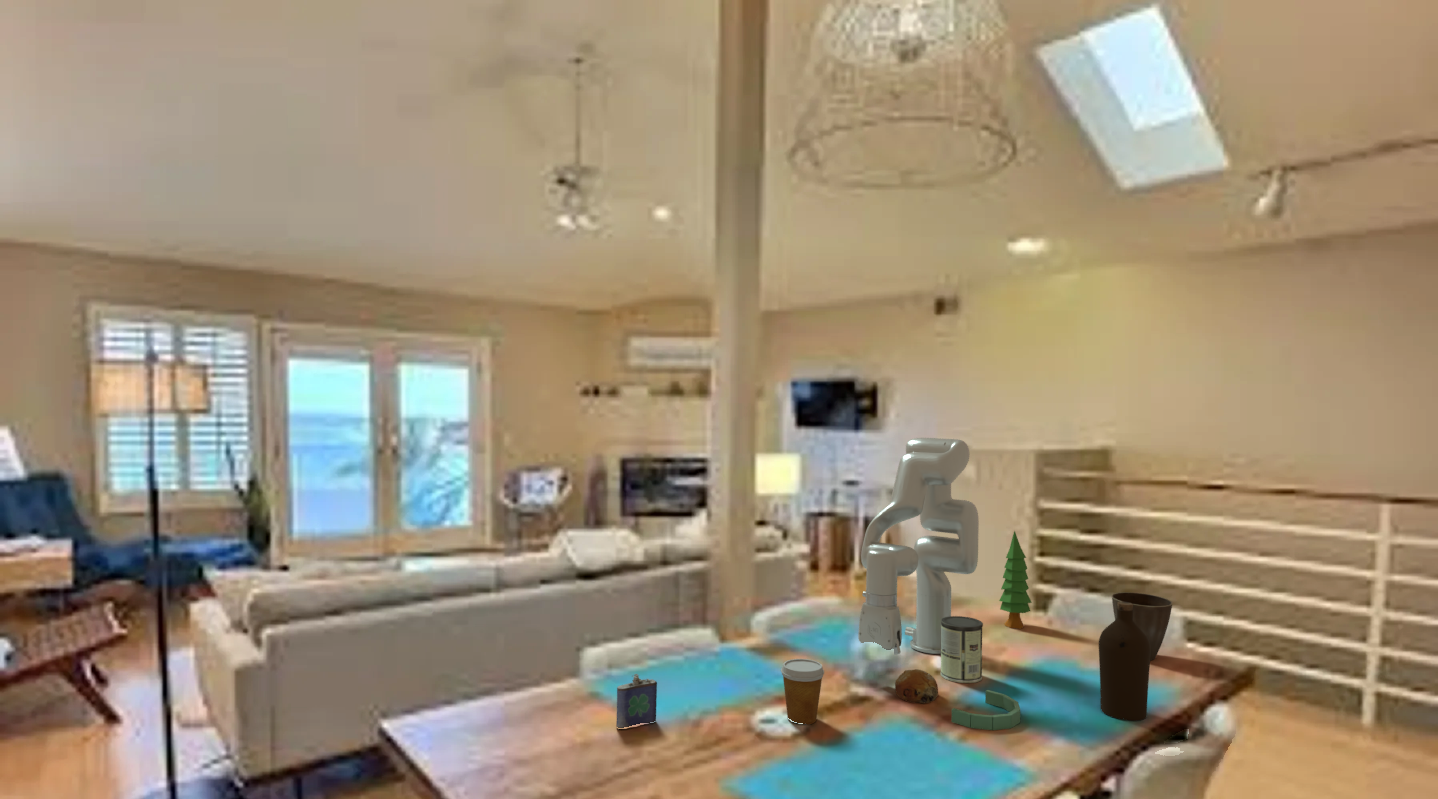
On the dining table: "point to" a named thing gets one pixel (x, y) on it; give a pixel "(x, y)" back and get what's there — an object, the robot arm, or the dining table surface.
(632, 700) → the flask
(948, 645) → the coffee can
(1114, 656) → the olive oil
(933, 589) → the robot arm
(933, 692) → the bread roll
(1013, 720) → the segmented green arc
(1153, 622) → the plant pot
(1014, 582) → the decorative tree
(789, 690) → the disposable coffee cup
